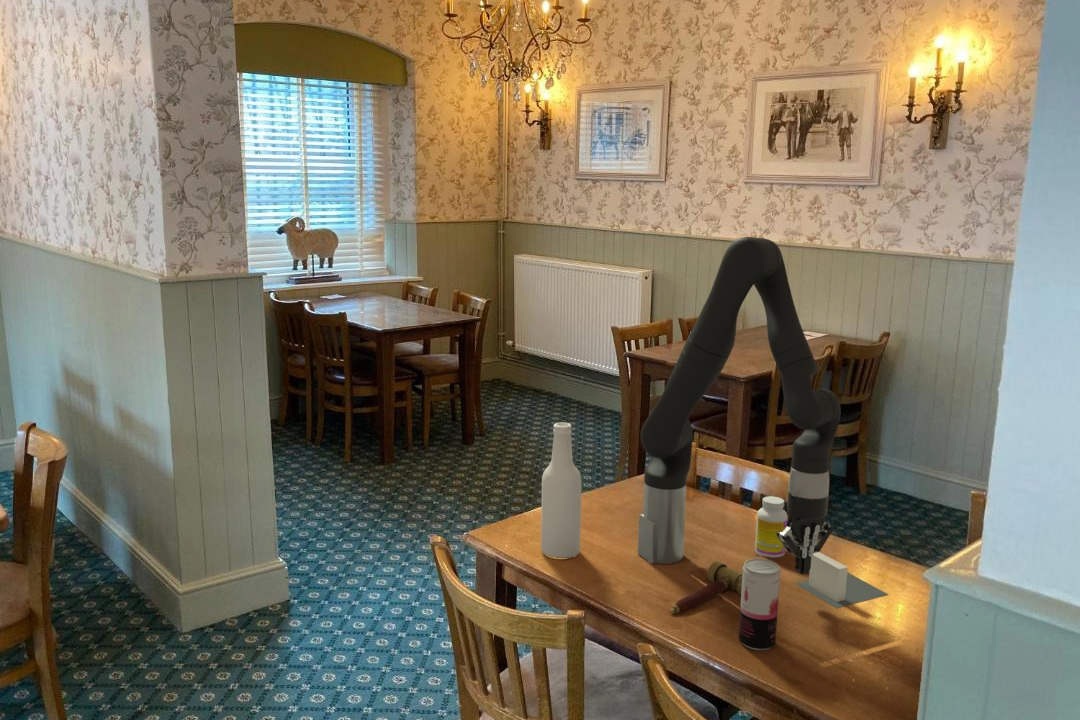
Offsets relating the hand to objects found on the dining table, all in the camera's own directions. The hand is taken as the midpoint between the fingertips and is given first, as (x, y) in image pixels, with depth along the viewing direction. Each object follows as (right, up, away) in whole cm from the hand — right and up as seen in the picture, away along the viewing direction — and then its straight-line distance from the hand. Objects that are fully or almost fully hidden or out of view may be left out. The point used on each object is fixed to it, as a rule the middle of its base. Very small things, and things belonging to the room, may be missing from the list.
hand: (802, 572), depth 177 cm
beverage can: (-13, -9, -14) cm, 21 cm away
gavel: (-19, -6, +2) cm, 20 cm away
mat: (+10, -5, +6) cm, 13 cm away
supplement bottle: (0, -2, +24) cm, 24 cm away
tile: (+6, -5, +4) cm, 9 cm away
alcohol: (-48, -1, +23) cm, 53 cm away
